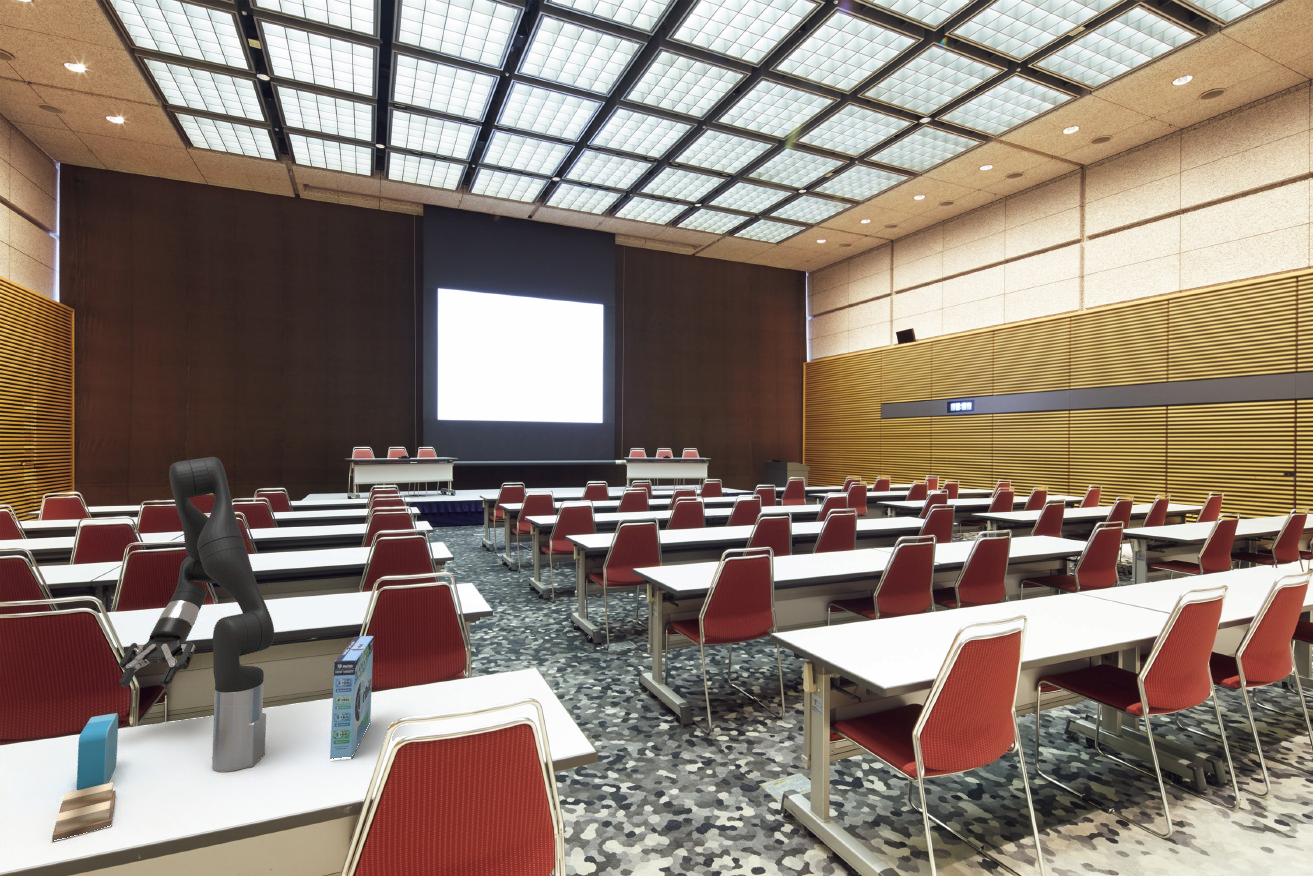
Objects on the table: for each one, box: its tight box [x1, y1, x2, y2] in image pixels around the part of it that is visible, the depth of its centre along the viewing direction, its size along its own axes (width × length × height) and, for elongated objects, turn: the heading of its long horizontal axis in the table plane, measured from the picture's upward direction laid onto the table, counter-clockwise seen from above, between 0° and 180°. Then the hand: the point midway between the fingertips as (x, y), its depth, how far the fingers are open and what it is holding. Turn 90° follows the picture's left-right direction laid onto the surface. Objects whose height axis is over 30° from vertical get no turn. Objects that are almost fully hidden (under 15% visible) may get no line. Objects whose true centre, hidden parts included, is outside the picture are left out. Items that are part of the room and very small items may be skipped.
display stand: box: [51, 781, 117, 842], centre depth 120 cm, size 8×13×3 cm, turn 38°
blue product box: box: [329, 635, 375, 760], centre depth 153 cm, size 20×5×23 cm, turn 13°
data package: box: [76, 712, 119, 791], centre depth 134 cm, size 12×4×12 cm, turn 32°
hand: (143, 685), depth 148 cm, fingers open, 8 cm apart
